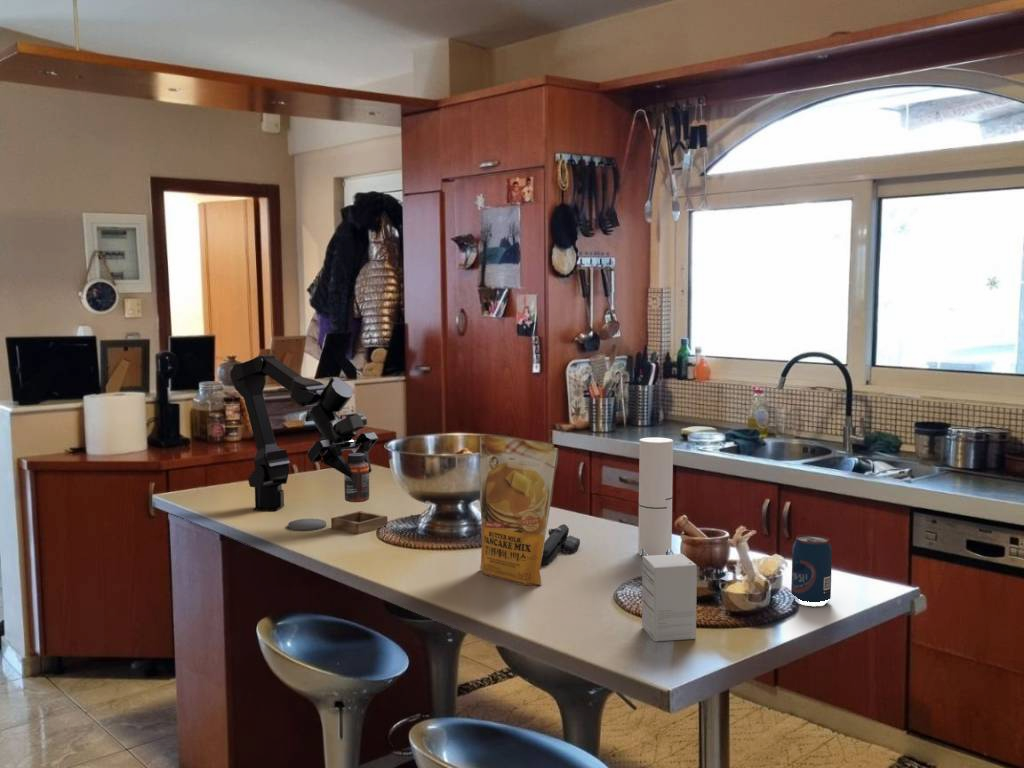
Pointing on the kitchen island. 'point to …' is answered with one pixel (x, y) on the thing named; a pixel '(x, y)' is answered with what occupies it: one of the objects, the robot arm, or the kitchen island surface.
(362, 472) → the supplement bottle
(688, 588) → the supplement box
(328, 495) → the kitchen island surface
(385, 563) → the kitchen island surface
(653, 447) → the cylindrical container
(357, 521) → the pocket
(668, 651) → the kitchen island surface
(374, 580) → the kitchen island surface
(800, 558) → the soda can
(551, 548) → the can opener
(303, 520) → the coaster
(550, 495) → the pancake mix bag
